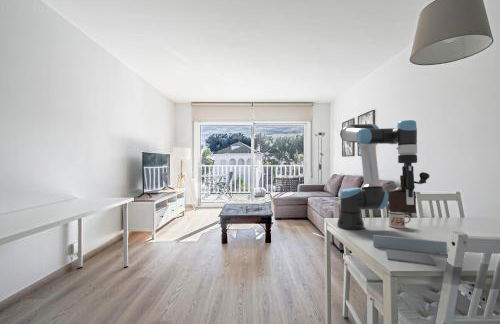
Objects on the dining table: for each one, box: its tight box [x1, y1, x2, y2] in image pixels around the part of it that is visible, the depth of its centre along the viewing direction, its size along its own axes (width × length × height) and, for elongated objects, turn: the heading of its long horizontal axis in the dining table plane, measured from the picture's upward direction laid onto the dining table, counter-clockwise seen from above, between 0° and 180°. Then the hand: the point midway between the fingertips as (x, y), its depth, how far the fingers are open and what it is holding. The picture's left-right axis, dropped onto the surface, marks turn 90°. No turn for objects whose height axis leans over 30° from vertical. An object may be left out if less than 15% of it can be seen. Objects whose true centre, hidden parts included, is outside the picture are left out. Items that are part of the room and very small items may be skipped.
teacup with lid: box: [388, 210, 412, 229], centre depth 159 cm, size 12×9×12 cm
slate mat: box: [385, 248, 437, 267], centre depth 108 cm, size 12×16×1 cm
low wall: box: [372, 234, 448, 256], centre depth 118 cm, size 4×28×5 cm, turn 66°
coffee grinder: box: [388, 171, 431, 214], centre depth 120 cm, size 16×11×18 cm
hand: (408, 202), depth 121 cm, fingers closed on coffee grinder, 10 cm apart
